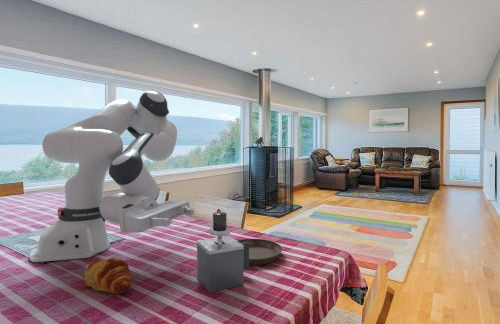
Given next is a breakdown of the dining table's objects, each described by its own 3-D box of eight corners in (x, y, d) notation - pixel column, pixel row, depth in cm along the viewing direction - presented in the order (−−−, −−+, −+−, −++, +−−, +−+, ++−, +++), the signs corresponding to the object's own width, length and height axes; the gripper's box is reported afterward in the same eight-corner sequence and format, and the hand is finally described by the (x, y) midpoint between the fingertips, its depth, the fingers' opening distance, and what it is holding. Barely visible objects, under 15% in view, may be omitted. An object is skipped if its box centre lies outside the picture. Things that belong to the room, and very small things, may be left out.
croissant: (80, 287, 86) (64, 265, 83) (113, 260, 92) (98, 239, 89) (117, 315, 72) (99, 289, 69) (152, 281, 78) (137, 257, 75)
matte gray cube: (209, 292, 76) (209, 251, 75) (197, 277, 84) (197, 240, 83) (255, 282, 82) (256, 243, 81) (240, 269, 90) (240, 234, 89)
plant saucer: (266, 273, 88) (266, 262, 88) (213, 260, 97) (213, 250, 96) (290, 253, 103) (291, 244, 103) (243, 244, 112) (243, 235, 112)
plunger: (213, 279, 78) (213, 217, 77) (206, 271, 83) (206, 212, 82) (233, 275, 81) (233, 214, 80) (225, 267, 85) (225, 210, 84)
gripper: (169, 213, 102) (205, 217, 96) (115, 234, 85) (154, 241, 78) (168, 193, 102) (203, 197, 95) (113, 210, 84) (152, 216, 77)
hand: (181, 217), depth 86 cm, fingers open, 8 cm apart
